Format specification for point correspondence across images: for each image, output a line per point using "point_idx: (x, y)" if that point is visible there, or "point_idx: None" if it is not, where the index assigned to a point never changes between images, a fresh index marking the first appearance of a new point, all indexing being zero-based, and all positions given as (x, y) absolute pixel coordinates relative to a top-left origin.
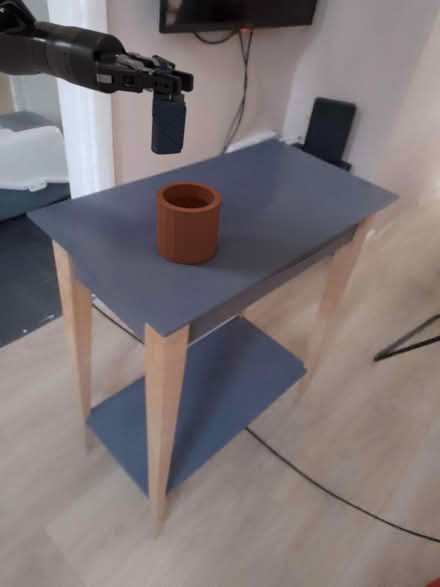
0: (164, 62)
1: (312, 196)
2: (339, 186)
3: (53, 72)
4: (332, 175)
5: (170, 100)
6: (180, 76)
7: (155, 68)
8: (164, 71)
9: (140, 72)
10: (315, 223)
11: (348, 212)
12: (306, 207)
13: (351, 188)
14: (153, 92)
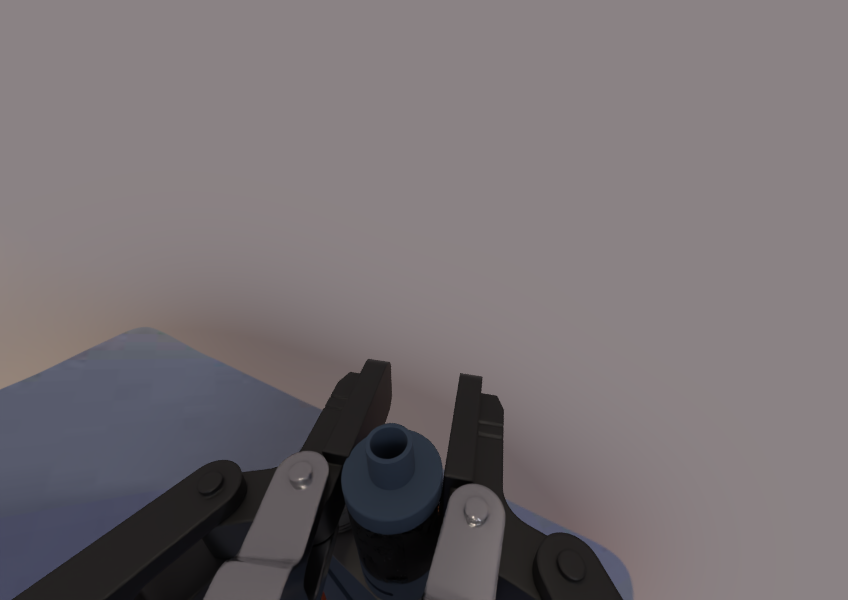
0: (369, 445)
1: (130, 421)
2: (89, 385)
3: None
4: (26, 398)
5: (348, 530)
6: (376, 405)
7: (397, 512)
8: (425, 446)
9: (572, 538)
10: (244, 408)
11: (201, 370)
12: (180, 426)
13: (103, 369)
14: (427, 572)
